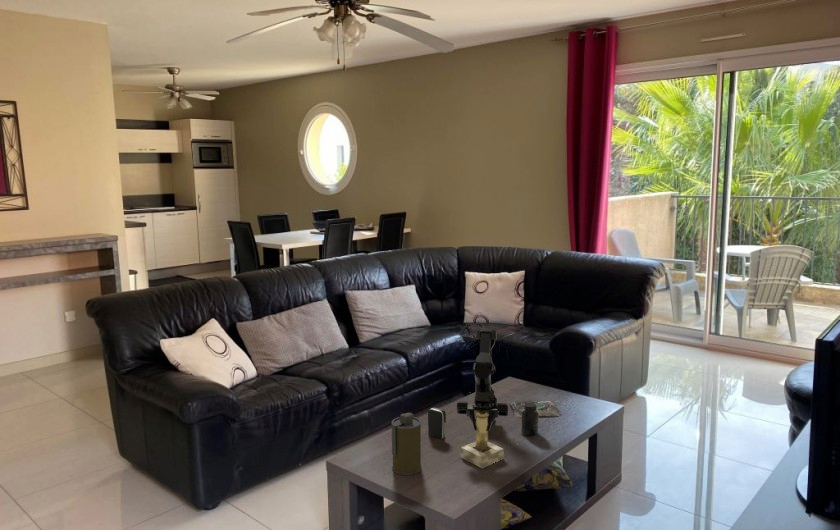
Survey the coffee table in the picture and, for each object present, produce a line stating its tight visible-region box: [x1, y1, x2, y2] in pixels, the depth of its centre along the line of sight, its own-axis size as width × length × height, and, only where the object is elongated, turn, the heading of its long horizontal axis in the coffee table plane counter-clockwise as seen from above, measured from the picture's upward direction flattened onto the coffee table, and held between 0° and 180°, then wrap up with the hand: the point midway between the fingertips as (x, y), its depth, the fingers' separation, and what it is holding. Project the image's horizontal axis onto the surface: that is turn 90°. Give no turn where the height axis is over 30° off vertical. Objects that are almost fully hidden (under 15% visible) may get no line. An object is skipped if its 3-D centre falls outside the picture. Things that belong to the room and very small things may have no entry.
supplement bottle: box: [520, 403, 540, 437], centre depth 245 cm, size 7×7×12 cm
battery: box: [427, 407, 447, 440], centre depth 243 cm, size 7×4×11 cm, turn 53°
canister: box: [391, 412, 422, 476], centre depth 216 cm, size 11×10×20 cm
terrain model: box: [508, 400, 562, 419], centre depth 269 cm, size 20×15×3 cm
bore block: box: [460, 441, 505, 469], centre depth 225 cm, size 11×11×4 cm
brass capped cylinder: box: [474, 410, 489, 449], centre depth 223 cm, size 5×5×13 cm
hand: (481, 430), depth 222 cm, fingers closed on brass capped cylinder, 4 cm apart
